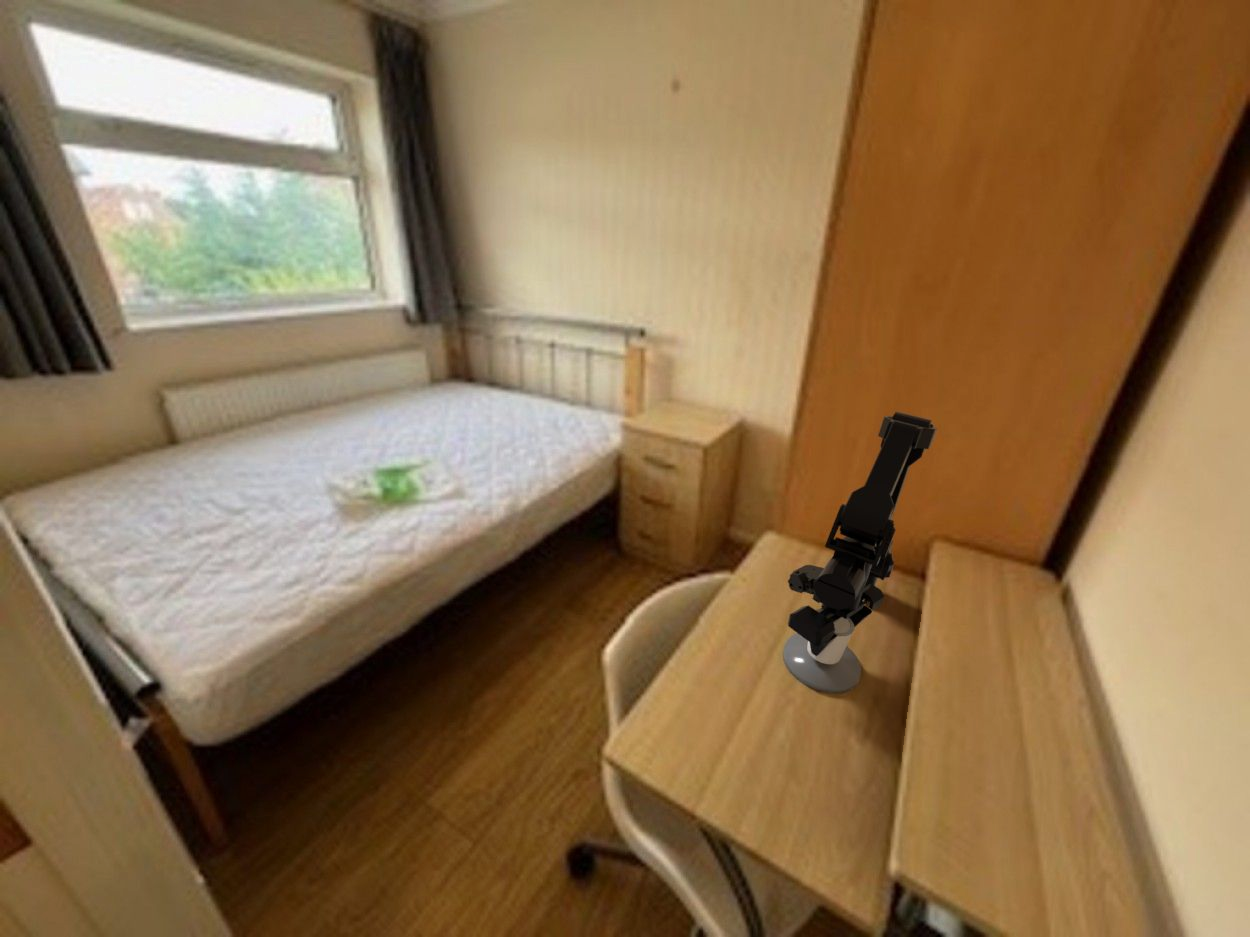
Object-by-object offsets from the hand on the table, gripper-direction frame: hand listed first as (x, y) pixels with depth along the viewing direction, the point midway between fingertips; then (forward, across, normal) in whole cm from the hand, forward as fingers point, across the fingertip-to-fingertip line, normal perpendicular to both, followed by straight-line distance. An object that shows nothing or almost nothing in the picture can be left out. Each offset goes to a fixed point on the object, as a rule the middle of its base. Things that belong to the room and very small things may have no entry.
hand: (825, 646), depth 95 cm
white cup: (+2, 0, 0) cm, 2 cm away
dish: (+4, 0, 0) cm, 4 cm away
